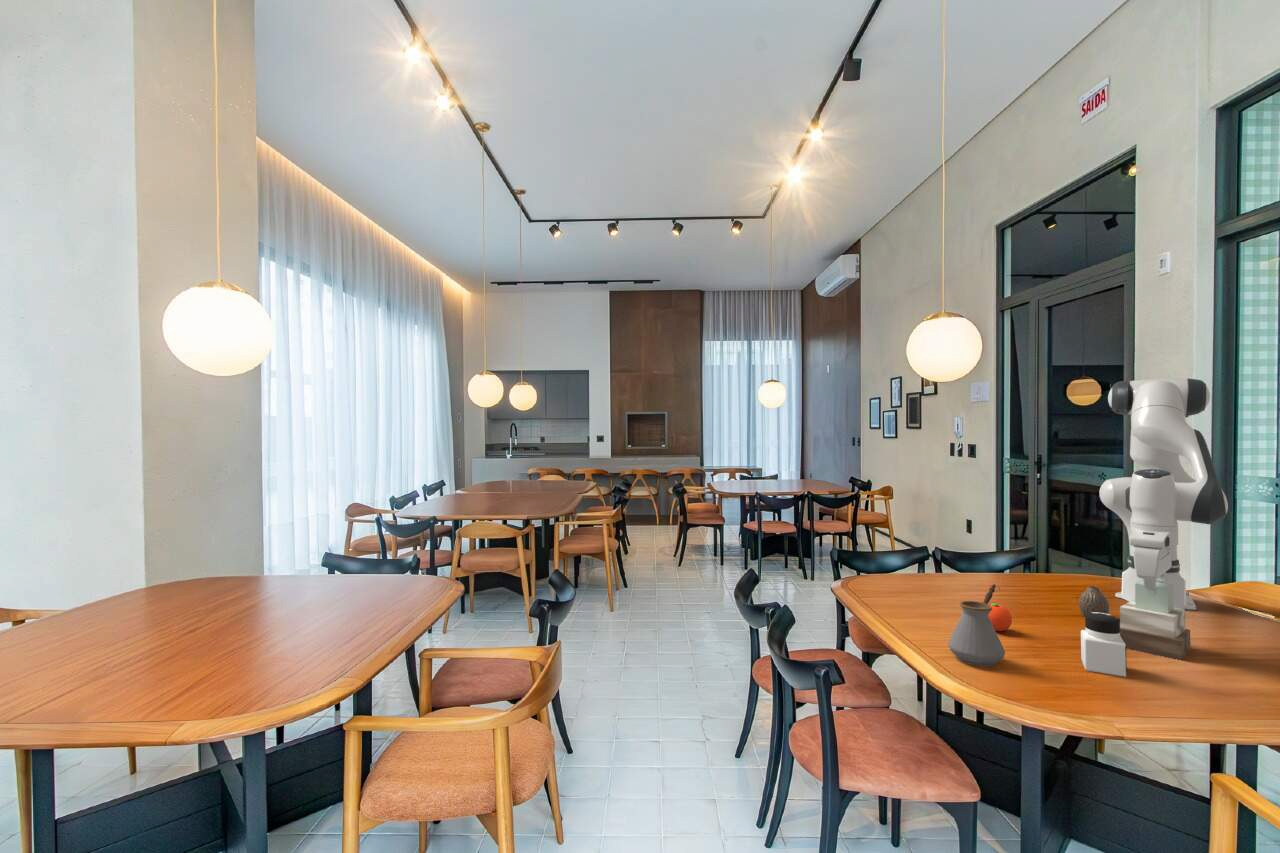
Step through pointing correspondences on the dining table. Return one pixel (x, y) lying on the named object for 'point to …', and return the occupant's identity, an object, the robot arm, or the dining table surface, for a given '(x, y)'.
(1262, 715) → the dining table surface
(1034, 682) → the dining table surface
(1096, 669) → the medicine bottle
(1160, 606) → the sage cube
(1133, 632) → the tower base
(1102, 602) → the brown ridged oval lump
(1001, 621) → the clementine
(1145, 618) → the tower top
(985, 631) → the coffee pot
